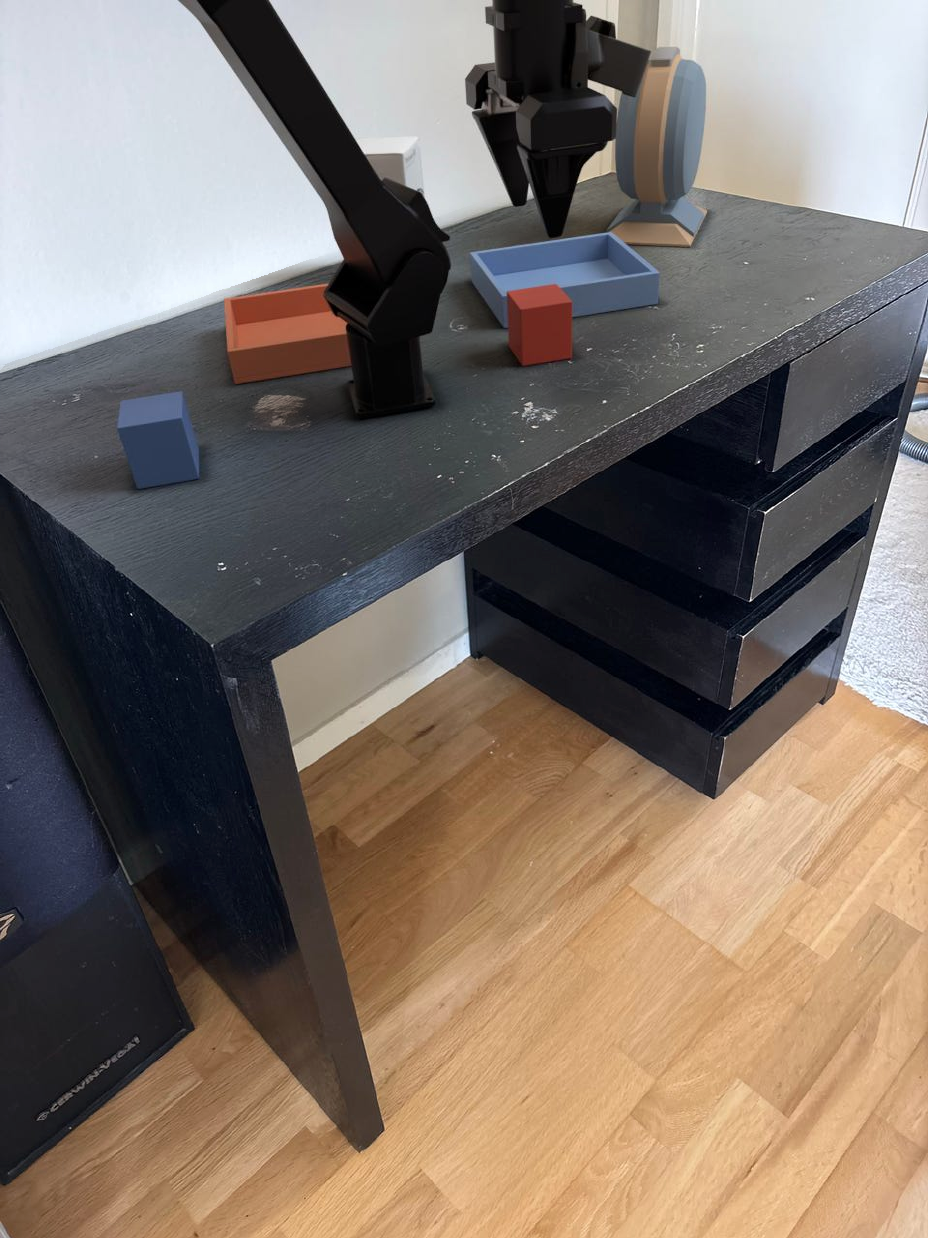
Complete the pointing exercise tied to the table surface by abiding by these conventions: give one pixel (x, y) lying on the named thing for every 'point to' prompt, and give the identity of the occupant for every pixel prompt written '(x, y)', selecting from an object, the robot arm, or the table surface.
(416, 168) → the white packaging box
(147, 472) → the blue block
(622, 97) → the blue rounded upright piece
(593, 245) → the blue tray
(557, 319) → the red block
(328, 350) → the red tray
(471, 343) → the table surface
